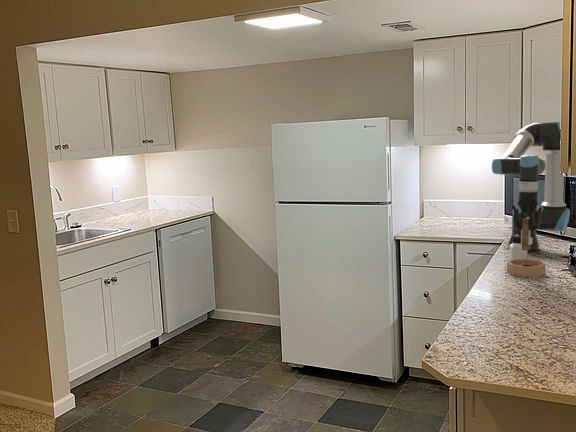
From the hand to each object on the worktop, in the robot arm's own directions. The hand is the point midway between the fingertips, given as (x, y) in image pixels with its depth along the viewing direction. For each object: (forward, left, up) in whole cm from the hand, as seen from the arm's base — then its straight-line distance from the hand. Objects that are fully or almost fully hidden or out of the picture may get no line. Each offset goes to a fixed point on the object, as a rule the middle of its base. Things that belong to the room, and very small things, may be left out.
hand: (526, 243), depth 260 cm
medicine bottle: (-20, -12, -13) cm, 27 cm away
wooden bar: (0, 0, -3) cm, 3 cm away
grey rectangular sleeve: (0, 0, -13) cm, 13 cm away
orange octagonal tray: (0, 0, -13) cm, 13 cm away
